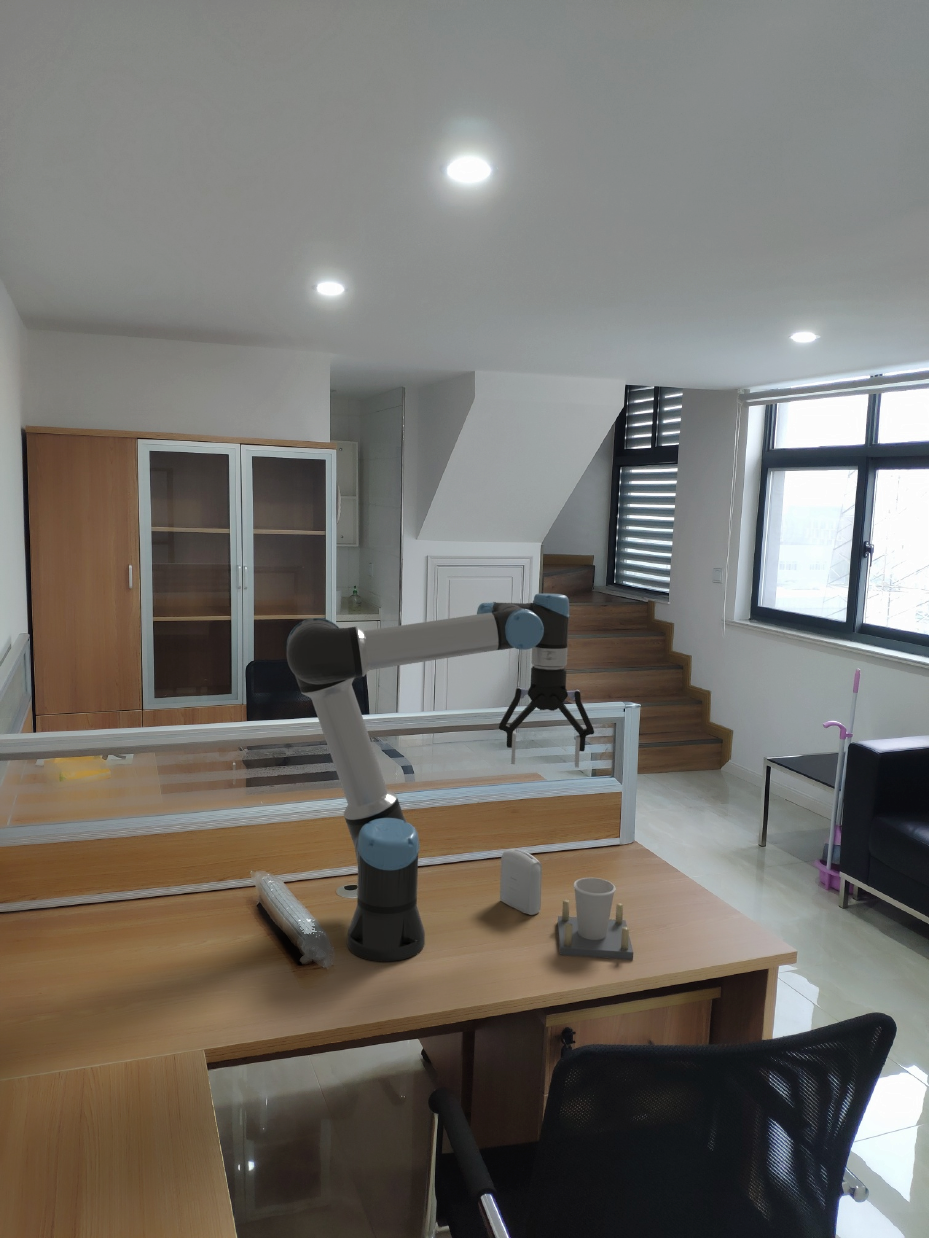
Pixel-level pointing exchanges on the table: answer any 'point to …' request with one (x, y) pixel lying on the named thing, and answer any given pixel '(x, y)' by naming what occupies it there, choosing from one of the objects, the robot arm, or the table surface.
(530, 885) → the photo printer
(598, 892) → the dixie cup
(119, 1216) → the table surface
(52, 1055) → the table surface
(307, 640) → the robot arm
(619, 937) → the plate
